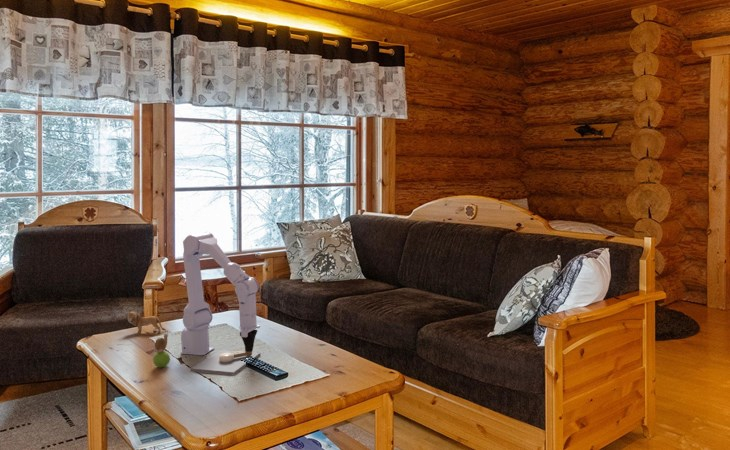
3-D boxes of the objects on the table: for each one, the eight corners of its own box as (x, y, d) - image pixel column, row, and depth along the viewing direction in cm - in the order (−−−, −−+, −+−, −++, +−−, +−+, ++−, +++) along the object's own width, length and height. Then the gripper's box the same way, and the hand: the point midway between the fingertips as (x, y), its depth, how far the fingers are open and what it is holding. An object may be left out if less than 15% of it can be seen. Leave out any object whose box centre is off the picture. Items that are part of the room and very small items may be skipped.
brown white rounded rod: (221, 363, 211) (221, 351, 210) (217, 359, 215) (216, 347, 215) (254, 356, 217) (253, 345, 216) (249, 353, 221) (248, 341, 220)
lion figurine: (127, 335, 250) (125, 313, 249) (130, 331, 255) (128, 310, 254) (164, 333, 252) (163, 311, 251) (166, 329, 257) (165, 308, 256)
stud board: (190, 371, 207) (190, 368, 207) (220, 352, 226) (220, 349, 226) (238, 375, 202) (238, 372, 202) (264, 355, 221) (264, 352, 221)
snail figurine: (175, 364, 214) (173, 330, 213) (163, 370, 208) (161, 335, 207) (162, 362, 216) (160, 329, 215) (150, 368, 210) (148, 334, 209)
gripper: (255, 318, 207) (256, 358, 209) (263, 307, 221) (264, 344, 223) (234, 319, 207) (236, 358, 209) (243, 308, 221) (245, 344, 223)
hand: (249, 351), depth 216 cm, fingers closed
